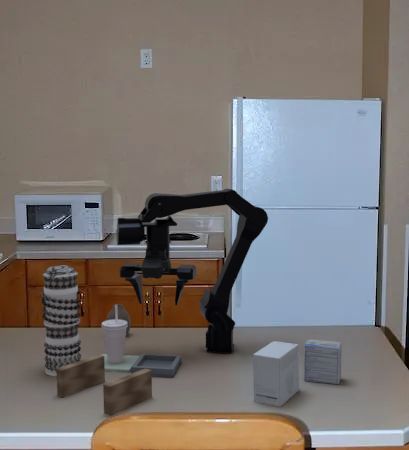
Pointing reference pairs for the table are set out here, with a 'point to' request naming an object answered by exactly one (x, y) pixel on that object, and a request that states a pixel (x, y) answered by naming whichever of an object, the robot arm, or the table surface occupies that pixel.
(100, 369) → the lane
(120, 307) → the vase
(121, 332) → the smoothie
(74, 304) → the decorative candle
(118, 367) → the mat
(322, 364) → the medicine box
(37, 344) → the table surface
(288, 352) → the skincare box
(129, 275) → the robot arm
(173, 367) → the tray
